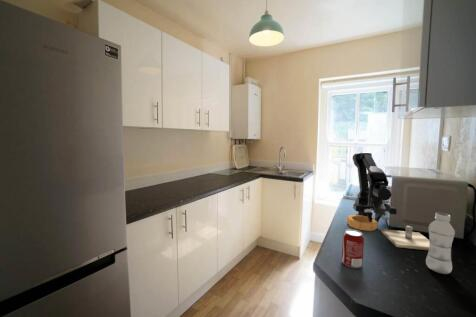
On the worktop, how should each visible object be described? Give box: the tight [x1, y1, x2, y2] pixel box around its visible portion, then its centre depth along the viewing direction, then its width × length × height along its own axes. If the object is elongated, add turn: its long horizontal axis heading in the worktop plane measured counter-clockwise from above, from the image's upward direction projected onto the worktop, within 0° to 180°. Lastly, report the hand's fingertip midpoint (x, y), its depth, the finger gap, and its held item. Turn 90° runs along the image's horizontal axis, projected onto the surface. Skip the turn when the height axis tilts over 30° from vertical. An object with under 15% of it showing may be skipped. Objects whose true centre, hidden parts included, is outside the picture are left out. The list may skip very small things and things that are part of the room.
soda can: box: [341, 228, 365, 269], centre depth 78 cm, size 7×7×12 cm
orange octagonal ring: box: [346, 214, 378, 232], centre depth 115 cm, size 13×13×4 cm
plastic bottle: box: [425, 212, 456, 275], centre depth 74 cm, size 6×7×20 cm
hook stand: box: [380, 225, 430, 251], centre depth 98 cm, size 16×16×6 cm
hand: (373, 224), depth 114 cm, fingers closed on orange octagonal ring, 2 cm apart
